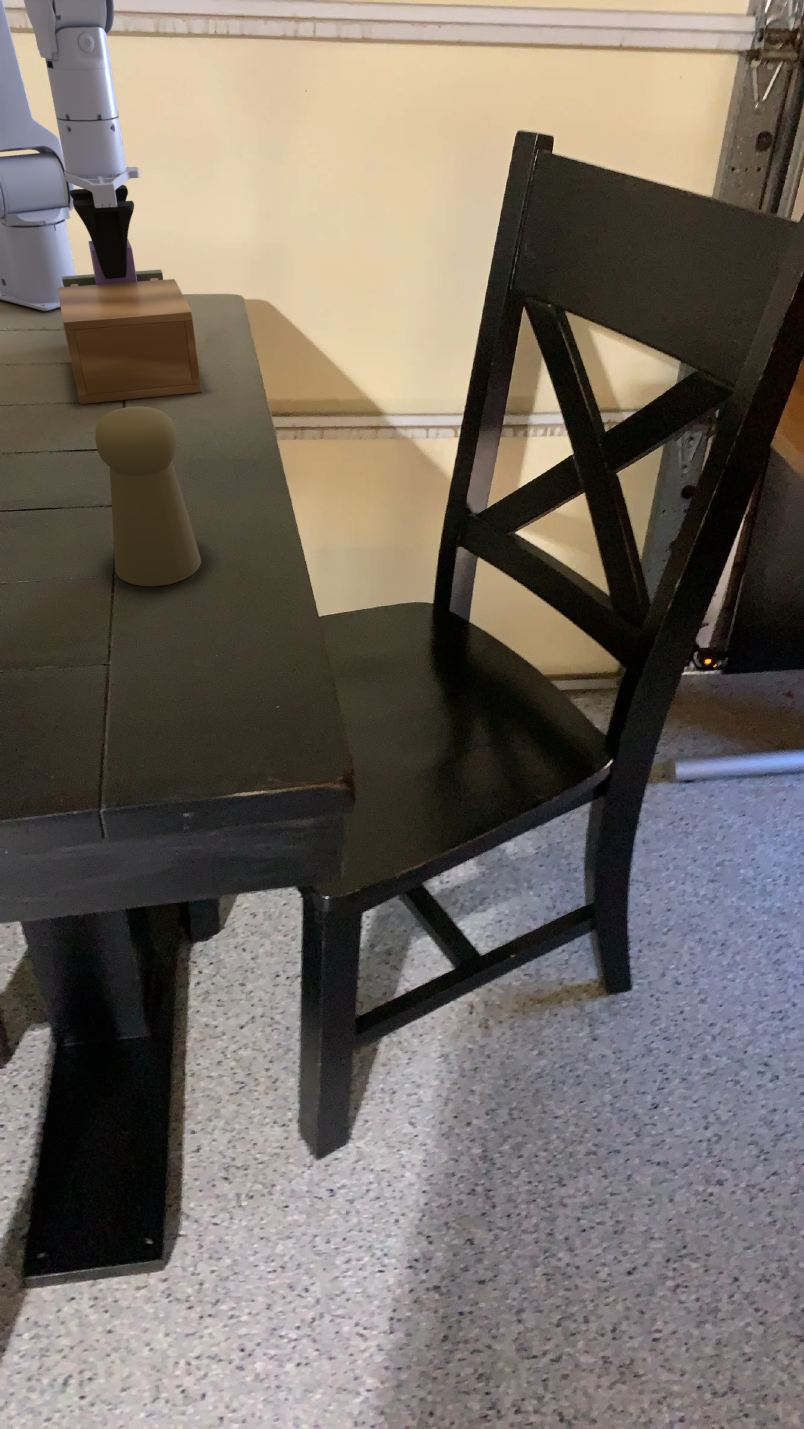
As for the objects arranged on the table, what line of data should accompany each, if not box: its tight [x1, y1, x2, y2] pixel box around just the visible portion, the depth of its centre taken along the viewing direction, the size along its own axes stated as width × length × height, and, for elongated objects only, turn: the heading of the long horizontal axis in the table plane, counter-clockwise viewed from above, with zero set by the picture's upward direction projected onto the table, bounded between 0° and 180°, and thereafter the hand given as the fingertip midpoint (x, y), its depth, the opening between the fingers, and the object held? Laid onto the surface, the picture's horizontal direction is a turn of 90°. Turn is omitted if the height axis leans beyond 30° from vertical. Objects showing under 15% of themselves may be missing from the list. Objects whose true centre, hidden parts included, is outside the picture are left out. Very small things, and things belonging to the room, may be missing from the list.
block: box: [88, 238, 137, 285], centre depth 98 cm, size 4×4×4 cm
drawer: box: [62, 269, 164, 287], centre depth 102 cm, size 15×10×6 cm
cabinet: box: [57, 278, 202, 405], centre depth 94 cm, size 12×12×8 cm
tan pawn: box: [94, 405, 202, 587], centre depth 64 cm, size 6×6×11 cm
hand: (113, 271), depth 98 cm, fingers closed on block, 4 cm apart
